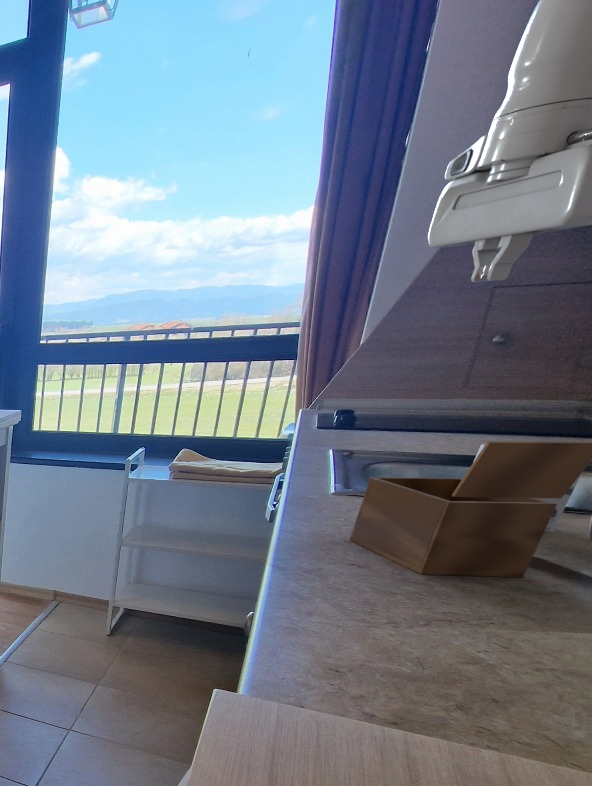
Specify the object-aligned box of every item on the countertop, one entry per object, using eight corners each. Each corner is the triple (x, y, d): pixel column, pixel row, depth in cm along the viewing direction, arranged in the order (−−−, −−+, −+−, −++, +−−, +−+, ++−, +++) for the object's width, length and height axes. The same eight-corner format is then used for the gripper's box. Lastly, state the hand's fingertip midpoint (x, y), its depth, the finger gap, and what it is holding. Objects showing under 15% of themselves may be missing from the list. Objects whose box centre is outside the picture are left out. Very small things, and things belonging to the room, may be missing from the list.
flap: (602, 441, 63) (605, 442, 62) (558, 496, 67) (561, 498, 66) (487, 441, 64) (490, 442, 64) (451, 495, 68) (453, 497, 68)
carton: (435, 542, 82) (460, 477, 79) (523, 577, 70) (557, 503, 67) (348, 540, 84) (370, 477, 80) (420, 574, 72) (449, 502, 69)
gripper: (674, 111, 60) (605, 272, 66) (495, 163, 79) (452, 285, 84) (596, 117, 61) (534, 275, 67) (437, 167, 80) (399, 287, 85)
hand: (487, 281), depth 76 cm, fingers closed
